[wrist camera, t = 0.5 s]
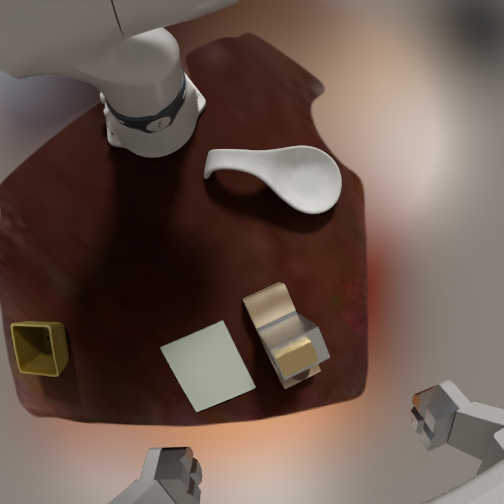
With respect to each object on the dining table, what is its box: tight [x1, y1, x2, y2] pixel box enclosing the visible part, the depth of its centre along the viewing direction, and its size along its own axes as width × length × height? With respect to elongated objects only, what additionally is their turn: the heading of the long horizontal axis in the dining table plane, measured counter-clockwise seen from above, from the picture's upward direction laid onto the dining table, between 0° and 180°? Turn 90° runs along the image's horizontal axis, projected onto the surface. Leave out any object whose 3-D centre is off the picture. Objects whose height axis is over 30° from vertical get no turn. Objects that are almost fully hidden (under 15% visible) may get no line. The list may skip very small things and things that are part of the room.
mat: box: [160, 320, 256, 412], centre depth 53 cm, size 14×12×1 cm
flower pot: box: [11, 321, 68, 377], centre depth 45 cm, size 9×9×9 cm
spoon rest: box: [204, 146, 342, 214], centre depth 51 cm, size 24×12×7 cm, turn 83°
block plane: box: [242, 282, 321, 389], centre depth 52 cm, size 17×7×6 cm, turn 24°
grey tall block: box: [258, 313, 330, 380], centre depth 45 cm, size 5×7×11 cm
